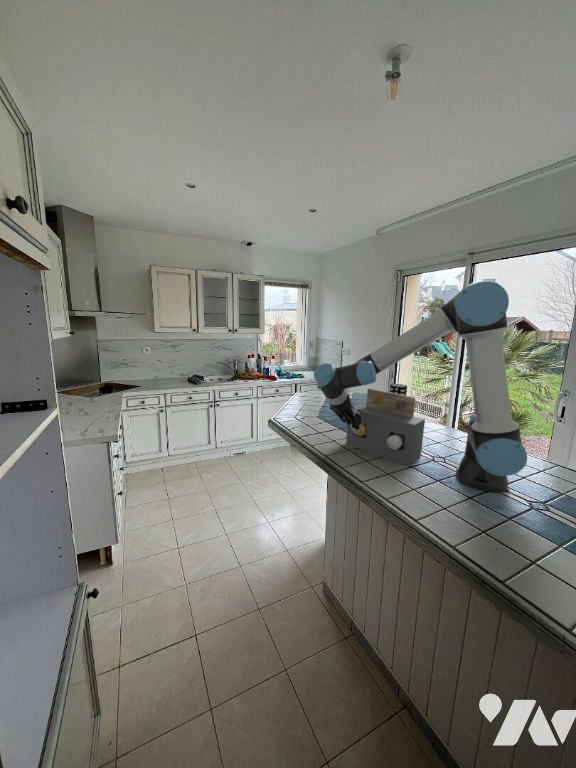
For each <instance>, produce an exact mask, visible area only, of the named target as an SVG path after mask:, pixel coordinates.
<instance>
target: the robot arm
mask: <svg viewBox="0 0 576 768" xmlns="http://www.w3.org/2000/svg"><path fill="white" fill-rule="evenodd" d="M509 304H510V299H509V294H508V292H507V290H506V289H505V287H503V286H502V285H501V284H499V283H498V282H495V281H492V280H480V281H479V280H478V281H474V282H471V283H469V284H467V285H465V287H462V289H461V290H460V291H459V292H458V293H457V294H456V295H455V296H454V297H452V299H450V300H449V301H448V302H447V303H445V304H444V305H442V306H440V307H439V308H438V309H437V312H436V313H435V314H433V315H431V316H430V317H428V318H426V319H425V320H423V321H422V322H420V323H418V324H417V325H414V326H413V327H412V328H409V330H407V331H405V332H403V333H402V334H400V335H398V336H397V337H395V338H393V339H392V340H389V341H388V342H387V343H385V344H384V345H382V346H380V347H378V348H377V349H376V350H373V351H371V352H370V353H369V354H367V355H365V356H364V357H362V358H360V359H358V360H357V361H356V362H354V363H352V364H348V365H345V366H344V365H343V366H339V367H334V366H333V364H332V363H327V362H324V363H322V364H320V365H318V366H317V367H316V368H315V369H314V372H313V379H314V380H315V382H316V385H317V387H319V389H320V390H321V392H322V394H323V395H324V397H325V399H326V400H327V402H328V403H329V405H330V407H329V409H330V410H331V411H332V412H333V413H334V414H335V415H336V416H337V417H338V419H339V420H340V421H341V422H342V423H346V425H347V424H348V425H349V426H350V428H351V429H352V430H353V432H354V434H356V435H358V434H359V432H360V430H361V429H360V428H359V427H360V426H359V425H360V423H361V417H360V412H361V410H355V409H354V405H352V399H351V397H350V394H349V393H348V391H347V389H351V388H354V387H361V386H368V385H370V384H373V383H375V382H376V381H377V374H379V373H381V372H382V371H384V370H386V369H387V368H389V367H391V366H393V365H394V364H396V363H398V362H400V361H402V360H404V359H406V358H407V357H409V356H411V355H413V354H414V353H416V352H418V351H419V350H422V349H424V347H428V346H429V345H430V344H432V343H434V342H435V341H437V340H439V339H440V338H442V337H444V336H447V335H448V334H450V333H451V334H456V333H457V334H458V336H459V337H460V338H461V339H463V340H464V341H465V346H466V347H465V348H466V354H467V361H468V362H467V363H468V369H469V375H470V383H471V392H472V399H473V405H474V407H473V408H474V414H471V416H470V418H469V421H468V430H467V436H466V437H467V439H466V443H465V444H466V445H465V449H464V455H463V457H462V458H461V461H460V462H459V465H458V466H456V471H455V477H456V479H457V480H458V481H460V482H461V483H462V484H465V485H466V486H468V487H470V488H473V489H476V490H479V491H483V492H489V493H502V492H505V491H507V489H509V488H508V487H509V478H508V477H509V476H513V475H516V474H518V473H519V472H521V471H522V470H523V469H524V468H525V467H526V465H527V462H528V453H527V450H526V448H525V447H524V446H523V444H522V437H521V428H520V424H519V423H518V422H516V421H515V420H514V419H513V418H512V417H513V416H512V411H511V400H510V394H509V387H508V386H509V385H508V378H507V368H506V361H505V352H504V346H503V345H504V344H503V333H504V332H505V331H506V330H507V329H508V318H507V311H508V308H509Z"/></svg>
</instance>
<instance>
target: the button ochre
mask: <svg viewBox="0 0 576 768" xmlns="http://www.w3.org/2000/svg"><path fill="white" fill-rule="evenodd" d="M359 426H360V427H359V428H360V429H361V430H360V432H359V434H358V435H359V436H362V435H365V434H366V427H367V425H365V424H362V423H360V425H359Z"/></svg>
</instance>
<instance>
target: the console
mask: <svg viewBox="0 0 576 768" xmlns="http://www.w3.org/2000/svg"><path fill="white" fill-rule="evenodd" d="M353 407H354V409H355V410H361V412H360V417H361V423H362V424H365V425H367V427H366V434H365V435H362V436H359V435H356V434H354V432H353V430H352V429H351V428H350V426H349V425H348V424H347V423H346V425H347V426H346V441H345V445H348V446H351V447H354V448H357V449H360V450H363V451H365V452H368V453H371V454H375V455H377V456H380V457H383V458H385V459H388V460H392V461H395V462H398V463H401V464H403V465H407V466H408V467H409V466H410V467H411V466H412V465H413V464H415V463H416V462H417V461H418V460H419V459H421V455H422V448H423V440H424V432H425V425H426V424H425V423H426V418H421V417H418V416H414V415H413V418H411V417H406V416H402V415H398V414H394V413H390V412H385V411H381V410H377V409H373V408H369V407H366V404H363V403H362V404H361V403H360V404H358V405H357V404H356V405H353ZM394 434H398V435H400V436H401V437H402V438H403V441H404V443H403V445H402V446H401V447H399V448H398V449H396V450H393V449H391V448H389V447H388V445H387V439H388V438H389V437H390V436H392V435H394Z"/></svg>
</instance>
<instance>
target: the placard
mask: <svg viewBox="0 0 576 768" xmlns="http://www.w3.org/2000/svg"><path fill="white" fill-rule="evenodd" d="M415 403H416V397H415V396H410V395H406V396H405V395H400V394H394V393H390V391H389V392H388V391H384V390H383V391H382V390H378V389H373V388H367V394H366V403H365V405H366V407H369V408H373V409H377V410H381V411H385V412H390V413H394V414H398V415H402V416H406V417H411V418H413V416H414V414H415V413H414V412H415Z"/></svg>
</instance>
